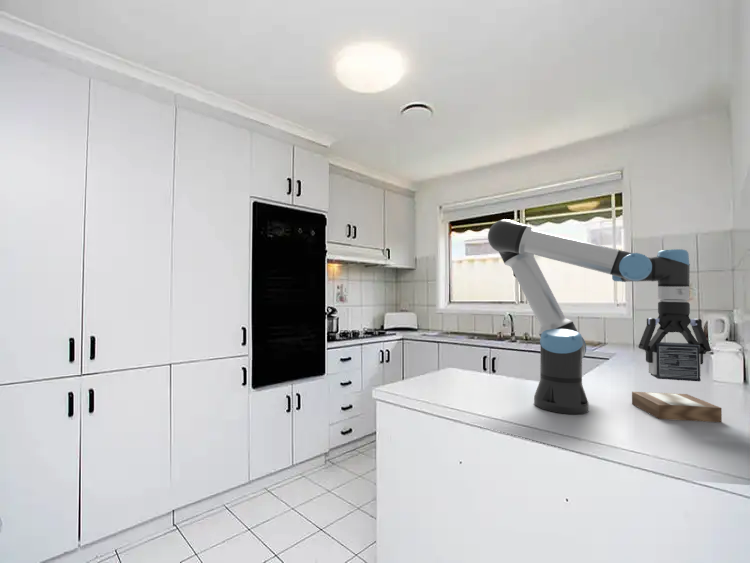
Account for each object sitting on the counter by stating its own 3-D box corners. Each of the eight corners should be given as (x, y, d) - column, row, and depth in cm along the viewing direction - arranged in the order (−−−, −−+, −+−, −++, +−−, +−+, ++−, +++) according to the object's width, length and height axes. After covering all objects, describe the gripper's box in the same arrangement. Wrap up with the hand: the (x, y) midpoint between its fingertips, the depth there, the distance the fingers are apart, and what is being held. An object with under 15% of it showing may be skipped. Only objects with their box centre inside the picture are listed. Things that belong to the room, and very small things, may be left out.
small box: (690, 377, 114) (690, 342, 115) (701, 382, 108) (701, 345, 108) (649, 374, 118) (649, 340, 118) (657, 379, 112) (657, 343, 112)
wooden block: (658, 418, 107) (658, 404, 107) (632, 404, 121) (632, 391, 121) (721, 422, 105) (721, 407, 105) (687, 406, 119) (686, 393, 119)
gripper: (638, 301, 111) (638, 375, 111) (726, 302, 108) (727, 378, 108) (624, 300, 119) (625, 370, 118) (707, 301, 116) (708, 373, 115)
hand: (674, 374), depth 113 cm, fingers closed on small box, 11 cm apart
